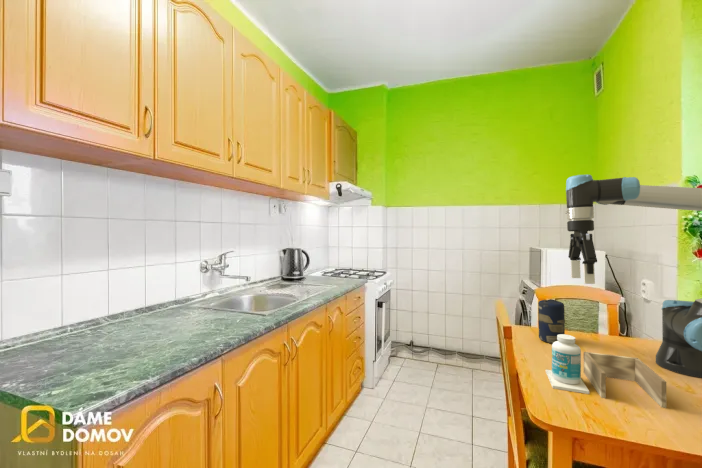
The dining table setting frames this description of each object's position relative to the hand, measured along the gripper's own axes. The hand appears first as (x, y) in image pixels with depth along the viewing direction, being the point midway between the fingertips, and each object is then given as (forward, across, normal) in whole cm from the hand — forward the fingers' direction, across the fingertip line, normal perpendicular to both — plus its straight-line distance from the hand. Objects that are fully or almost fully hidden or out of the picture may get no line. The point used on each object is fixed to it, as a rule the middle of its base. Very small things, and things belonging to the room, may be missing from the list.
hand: (582, 280), depth 109 cm
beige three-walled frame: (+30, +16, +4) cm, 34 cm away
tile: (+29, +16, -10) cm, 35 cm away
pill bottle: (+29, +16, -10) cm, 35 cm away
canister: (+30, -25, -5) cm, 39 cm away
